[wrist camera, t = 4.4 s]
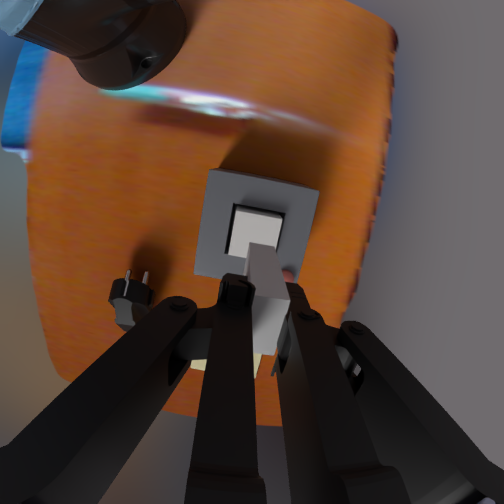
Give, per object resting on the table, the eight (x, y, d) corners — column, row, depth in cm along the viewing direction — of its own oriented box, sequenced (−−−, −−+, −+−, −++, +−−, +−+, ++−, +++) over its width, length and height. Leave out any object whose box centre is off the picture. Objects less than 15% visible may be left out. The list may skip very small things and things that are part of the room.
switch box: (218, 167, 31) (208, 169, 23) (303, 184, 31) (321, 191, 24) (204, 250, 34) (192, 276, 26) (285, 264, 34) (295, 293, 27)
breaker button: (237, 203, 27) (236, 210, 23) (277, 211, 27) (282, 219, 24) (230, 242, 28) (228, 254, 25) (269, 248, 29) (272, 262, 25)
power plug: (130, 342, 37) (96, 313, 27) (138, 297, 41) (112, 257, 31) (165, 347, 37) (140, 320, 27) (172, 301, 41) (153, 260, 31)
